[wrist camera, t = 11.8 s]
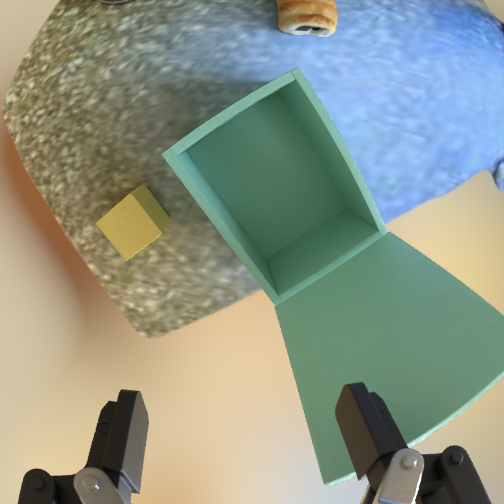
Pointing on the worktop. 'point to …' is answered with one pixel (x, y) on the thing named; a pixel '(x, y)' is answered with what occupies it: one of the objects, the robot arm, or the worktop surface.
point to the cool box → (279, 185)
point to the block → (134, 222)
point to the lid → (389, 345)
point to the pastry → (307, 17)
